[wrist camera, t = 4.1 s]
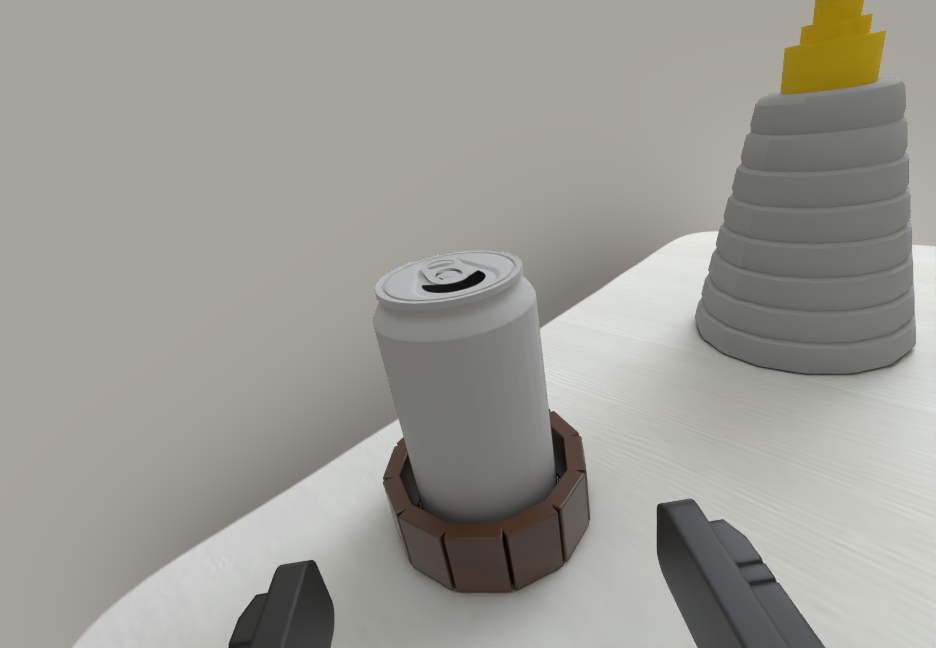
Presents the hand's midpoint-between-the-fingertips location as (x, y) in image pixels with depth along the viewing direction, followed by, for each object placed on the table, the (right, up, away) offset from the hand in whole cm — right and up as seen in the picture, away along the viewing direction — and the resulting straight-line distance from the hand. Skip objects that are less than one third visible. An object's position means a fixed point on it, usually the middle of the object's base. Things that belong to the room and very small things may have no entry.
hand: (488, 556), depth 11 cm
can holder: (+1, -3, +12) cm, 12 cm away
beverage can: (+1, -3, +12) cm, 13 cm away
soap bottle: (+22, +5, +22) cm, 32 cm away
